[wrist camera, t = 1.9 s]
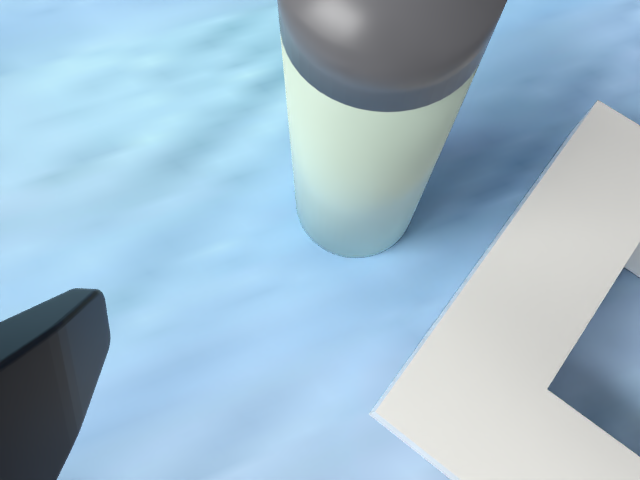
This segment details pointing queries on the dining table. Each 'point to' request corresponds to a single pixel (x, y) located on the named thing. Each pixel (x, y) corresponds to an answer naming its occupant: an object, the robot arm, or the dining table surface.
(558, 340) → the housing
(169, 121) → the dining table surface
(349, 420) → the dining table surface
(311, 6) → the capped bottle
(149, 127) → the dining table surface
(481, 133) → the dining table surface
